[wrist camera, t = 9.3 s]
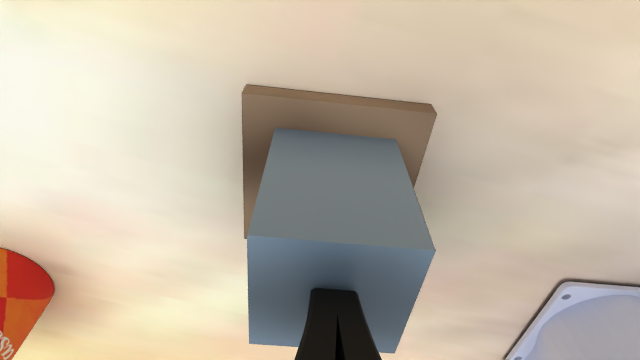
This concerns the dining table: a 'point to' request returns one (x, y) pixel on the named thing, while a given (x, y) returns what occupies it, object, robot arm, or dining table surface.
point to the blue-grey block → (334, 235)
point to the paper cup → (20, 299)
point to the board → (326, 127)
